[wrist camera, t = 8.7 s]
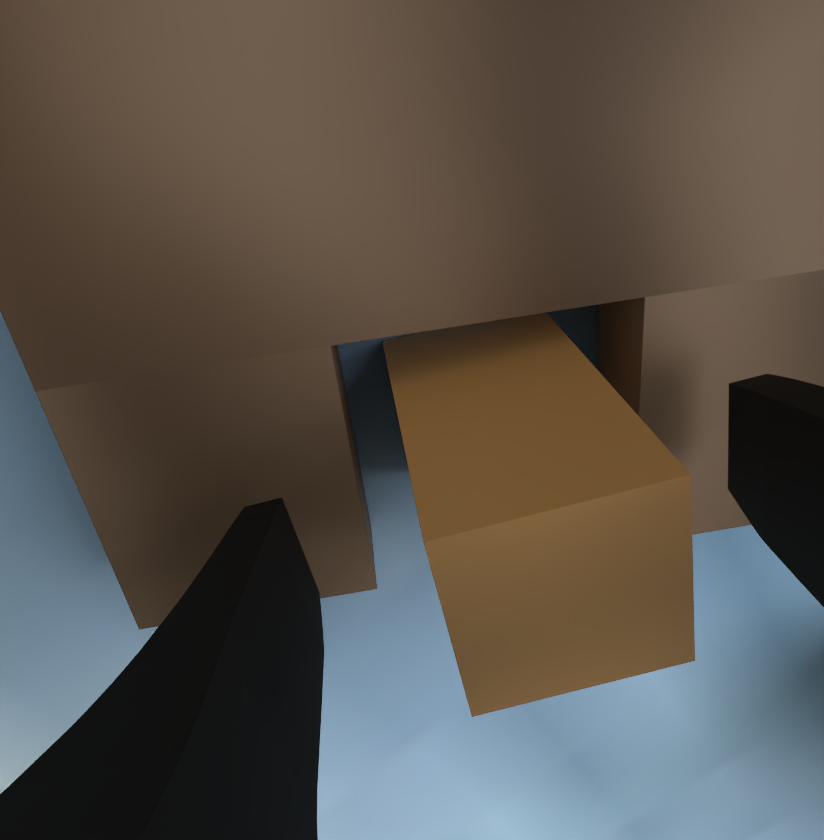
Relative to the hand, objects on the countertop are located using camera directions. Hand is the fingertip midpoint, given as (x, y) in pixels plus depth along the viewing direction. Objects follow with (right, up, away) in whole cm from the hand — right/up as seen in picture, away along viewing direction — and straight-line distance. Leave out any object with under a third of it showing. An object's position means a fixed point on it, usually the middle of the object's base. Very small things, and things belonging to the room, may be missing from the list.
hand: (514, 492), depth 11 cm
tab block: (0, +2, +3) cm, 3 cm away
